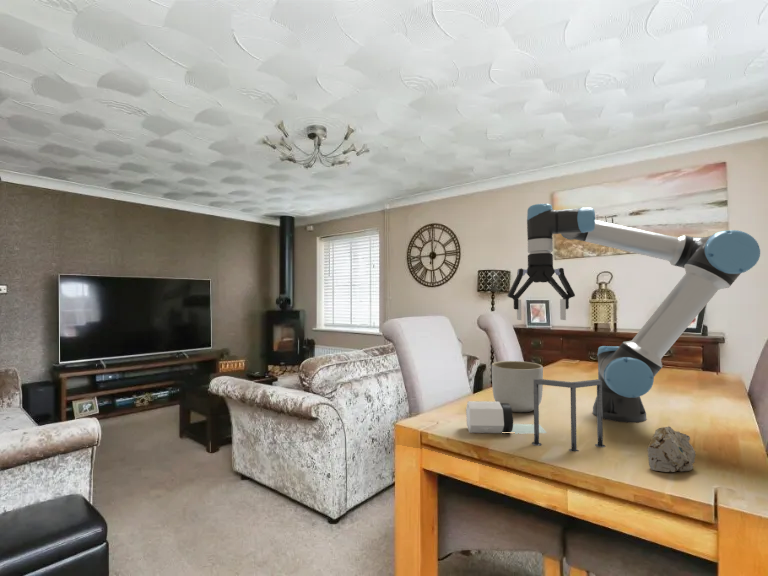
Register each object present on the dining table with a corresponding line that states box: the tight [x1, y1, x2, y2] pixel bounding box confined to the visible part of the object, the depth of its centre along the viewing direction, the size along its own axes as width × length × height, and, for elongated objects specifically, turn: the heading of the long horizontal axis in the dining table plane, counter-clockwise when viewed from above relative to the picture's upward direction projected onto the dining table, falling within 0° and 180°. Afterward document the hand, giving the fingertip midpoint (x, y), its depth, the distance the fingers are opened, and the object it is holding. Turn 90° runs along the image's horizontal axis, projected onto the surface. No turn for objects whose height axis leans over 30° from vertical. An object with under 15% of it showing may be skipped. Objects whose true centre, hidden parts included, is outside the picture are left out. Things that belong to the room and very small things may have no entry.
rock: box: [646, 425, 697, 473], centre depth 91 cm, size 12×7×10 cm, turn 111°
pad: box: [512, 423, 548, 435], centre depth 117 cm, size 13×13×1 cm
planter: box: [491, 360, 544, 413], centre depth 141 cm, size 17×17×15 cm
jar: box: [465, 400, 514, 434], centre depth 117 cm, size 9×8×12 cm
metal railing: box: [531, 378, 606, 452], centre depth 103 cm, size 18×6×18 cm, turn 85°
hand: (541, 319), depth 129 cm, fingers open, 13 cm apart
